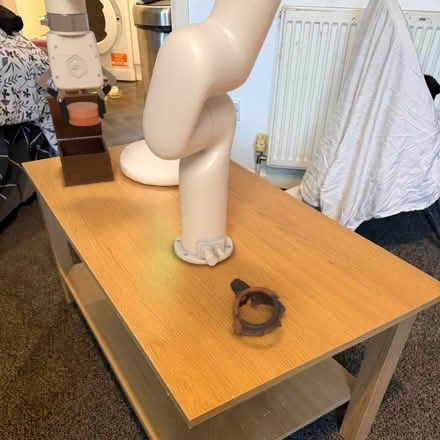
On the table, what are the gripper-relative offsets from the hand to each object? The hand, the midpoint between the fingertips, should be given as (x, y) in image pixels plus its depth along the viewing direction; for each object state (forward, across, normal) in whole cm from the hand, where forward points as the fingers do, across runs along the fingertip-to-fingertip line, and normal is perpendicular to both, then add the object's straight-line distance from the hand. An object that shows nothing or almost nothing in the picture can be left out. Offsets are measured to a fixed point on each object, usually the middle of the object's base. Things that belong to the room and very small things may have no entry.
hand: (84, 117), depth 92 cm
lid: (+6, -1, +20) cm, 21 cm away
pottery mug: (+20, +19, -54) cm, 60 cm away
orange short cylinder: (+1, 0, 0) cm, 1 cm away
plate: (+20, +21, +13) cm, 32 cm away
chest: (+20, -1, +17) cm, 27 cm away
